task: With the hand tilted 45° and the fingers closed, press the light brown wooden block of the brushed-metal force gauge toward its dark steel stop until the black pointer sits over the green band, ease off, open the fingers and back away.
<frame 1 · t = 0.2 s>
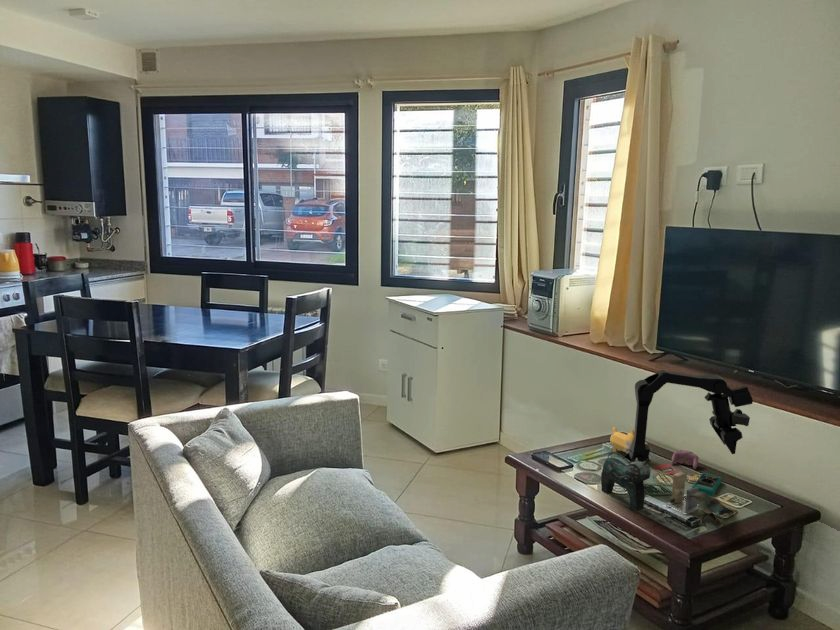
hand: (729, 449, 235), 16 cm above the table, tool pointing down, fingers open, 9 cm apart
green animal figurine: (621, 501, 229), on the table
bird figurine: (710, 521, 215), on the table
digital multimeter: (706, 488, 240), on the table
dog: (628, 456, 268), on the table
gauge base: (683, 507, 224), on the table
light brown wooden block: (677, 488, 224), point 6 cm above the table, slide at 0.0 cm
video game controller: (684, 465, 259), on the table
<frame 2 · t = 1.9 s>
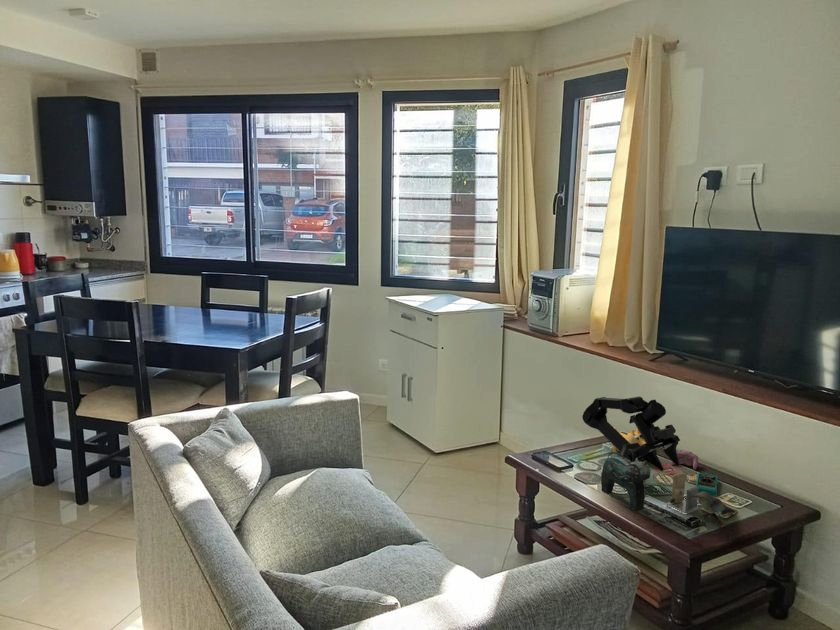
hand: (670, 467, 227), 12 cm above the table, tool tilted 45°, fingers open, 8 cm apart
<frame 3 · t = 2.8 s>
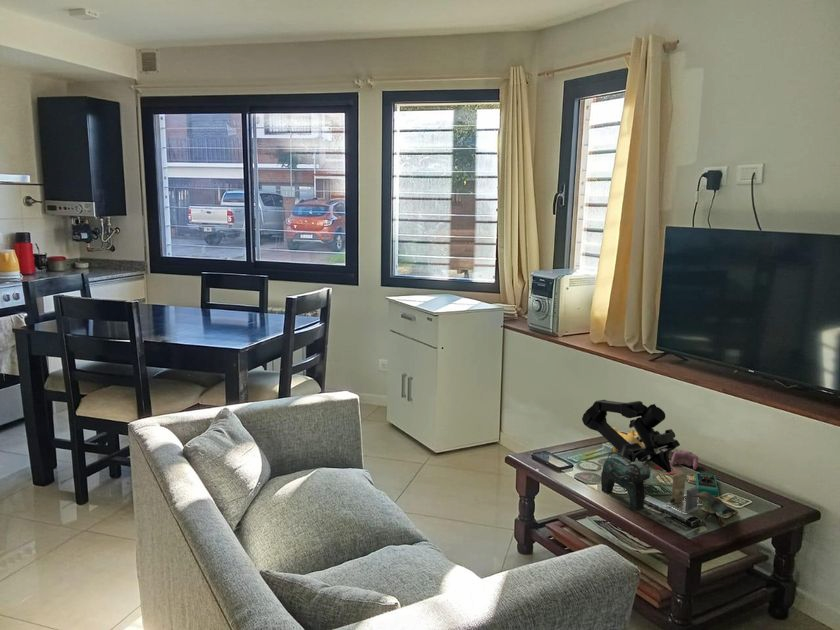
hand: (670, 472, 227), 11 cm above the table, tool tilted 45°, fingers closed
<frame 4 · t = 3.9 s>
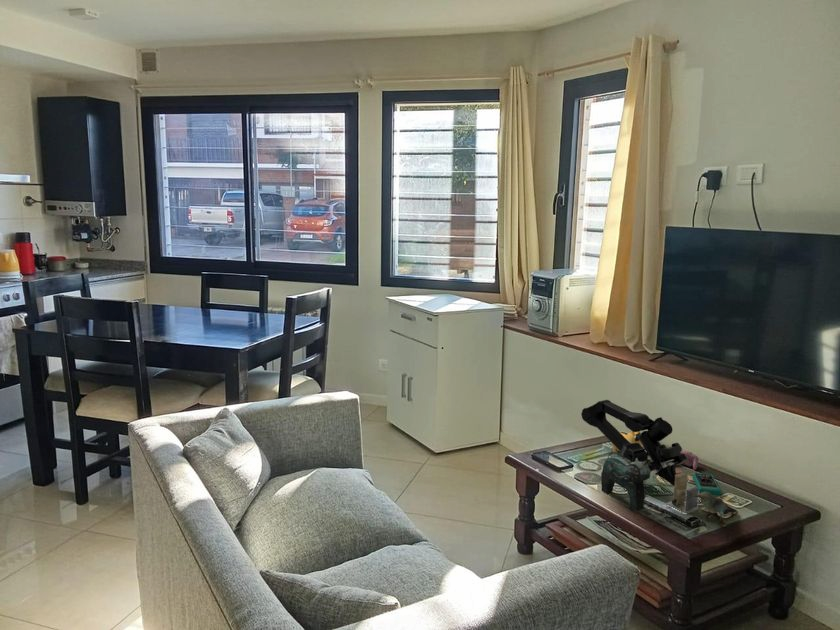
hand: (677, 486, 225), 7 cm above the table, tool tilted 45°, fingers closed, pressing on light brown wooden block
light brown wooden block: (679, 489, 223), point 6 cm above the table, slide at 0.8 cm, touching gripper
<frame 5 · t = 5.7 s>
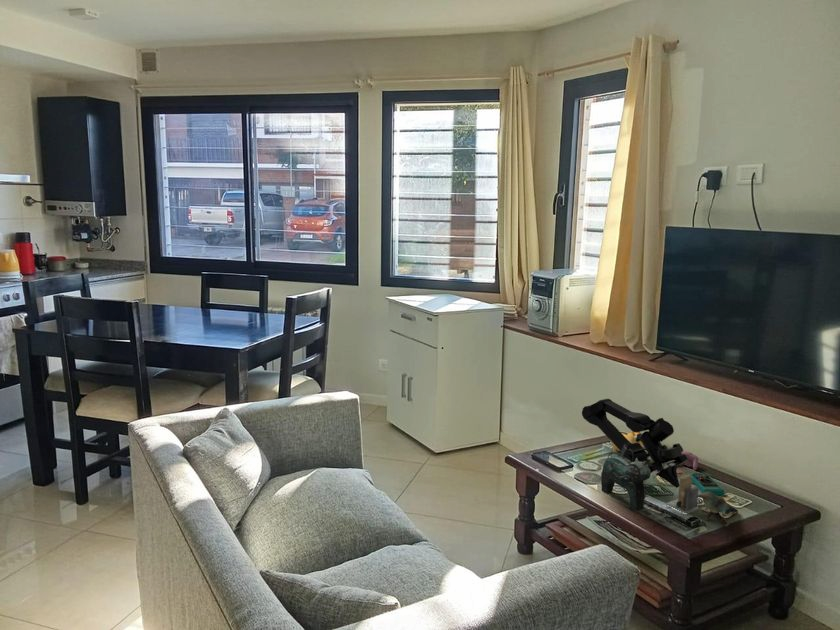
hand: (678, 487, 225), 7 cm above the table, tool tilted 45°, fingers closed
light brown wooden block: (683, 491, 222), point 6 cm above the table, slide at 2.6 cm
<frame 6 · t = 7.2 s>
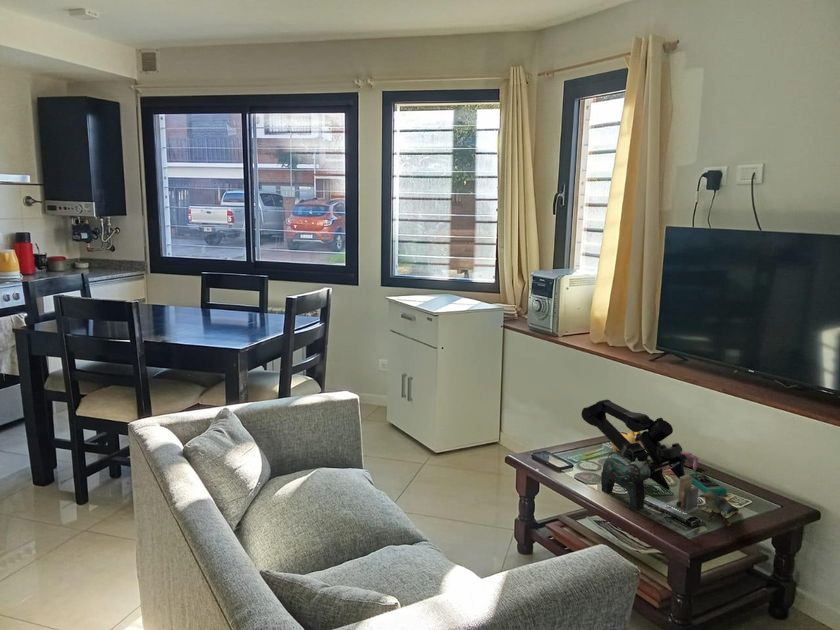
hand: (677, 486, 225), 7 cm above the table, tool tilted 45°, fingers open, 9 cm apart
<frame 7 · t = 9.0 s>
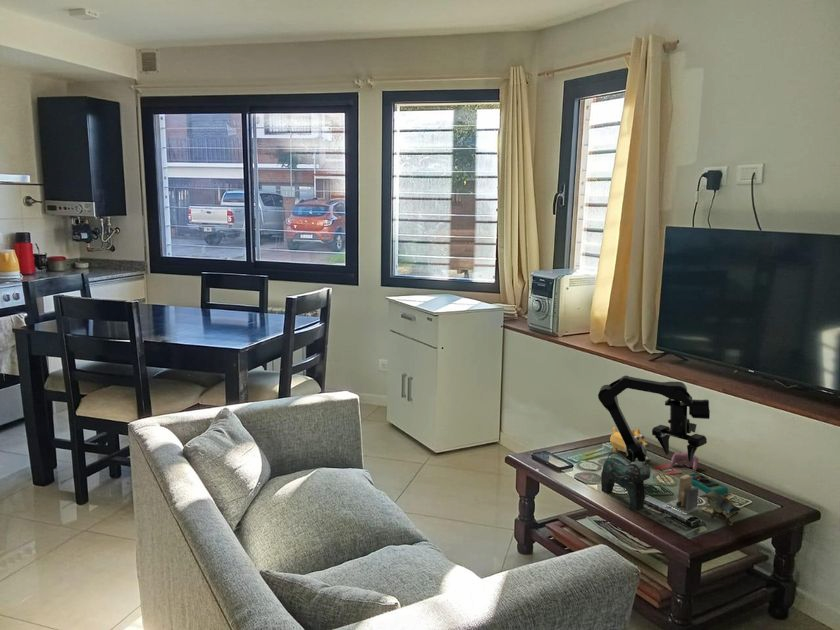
hand: (678, 457, 235), 12 cm above the table, tool pointing down, fingers open, 9 cm apart
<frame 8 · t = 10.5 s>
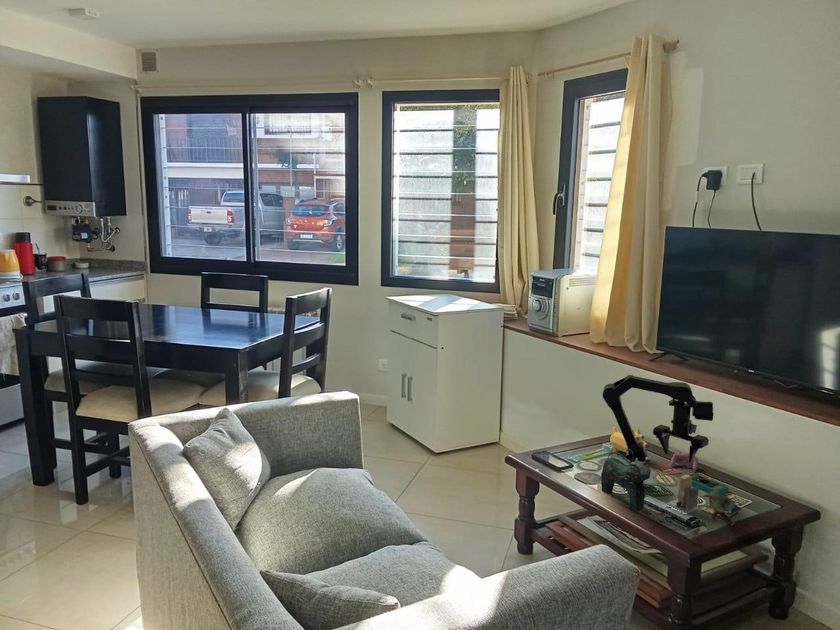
hand: (678, 458, 236), 12 cm above the table, tool pointing down, fingers open, 9 cm apart
at the end: light brown wooden block slide at 2.6 cm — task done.
